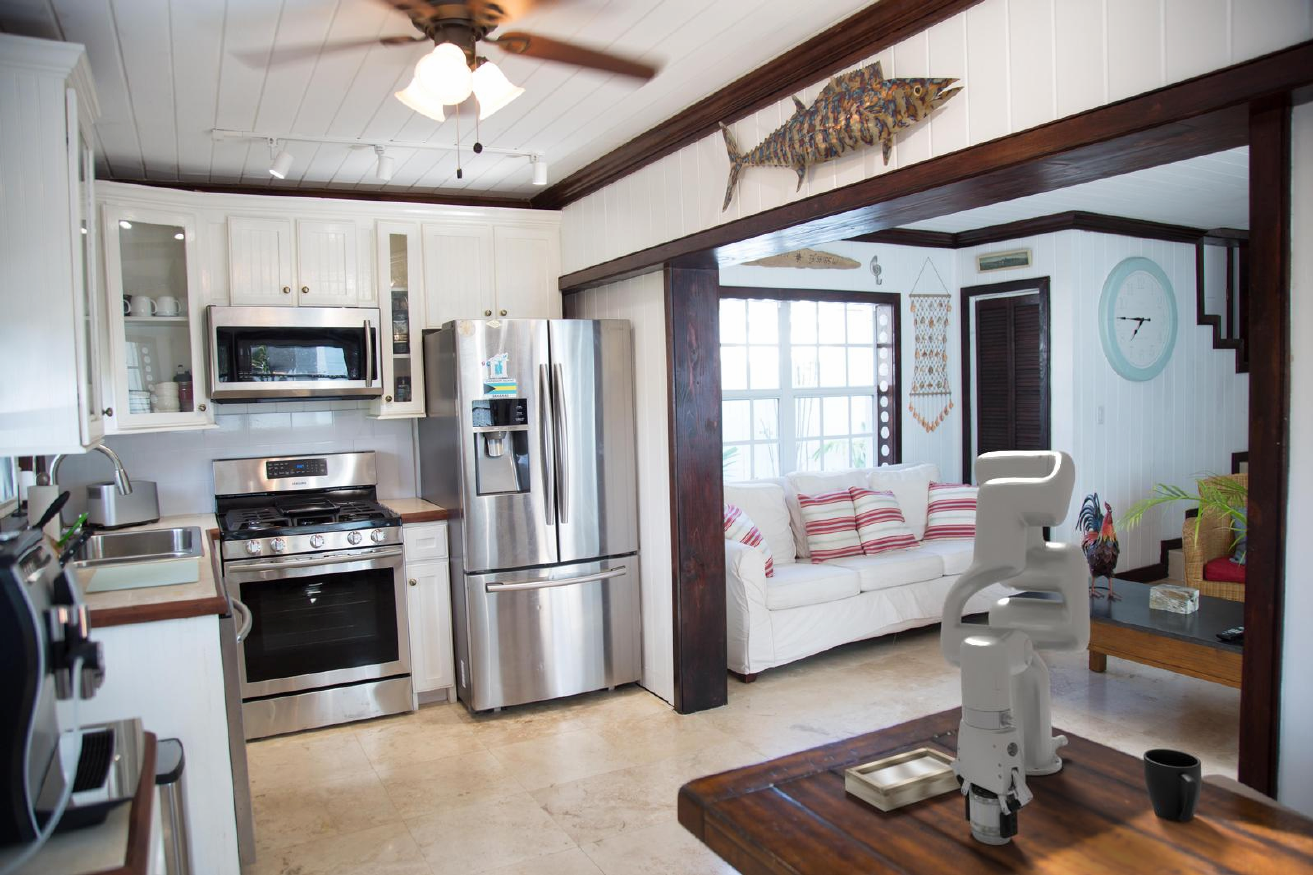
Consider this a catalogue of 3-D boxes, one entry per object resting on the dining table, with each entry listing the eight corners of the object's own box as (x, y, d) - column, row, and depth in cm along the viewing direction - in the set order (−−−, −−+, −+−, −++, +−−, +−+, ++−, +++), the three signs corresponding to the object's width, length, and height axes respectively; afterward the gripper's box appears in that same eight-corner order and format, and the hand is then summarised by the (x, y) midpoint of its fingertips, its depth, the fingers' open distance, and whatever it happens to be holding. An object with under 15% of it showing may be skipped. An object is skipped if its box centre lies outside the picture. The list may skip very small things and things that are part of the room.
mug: (1163, 836, 139) (1161, 776, 138) (1138, 803, 150) (1136, 747, 150) (1221, 839, 137) (1219, 778, 137) (1191, 805, 149) (1189, 749, 149)
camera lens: (1012, 848, 137) (1011, 798, 137) (969, 843, 139) (968, 793, 139) (1012, 830, 143) (1011, 782, 143) (971, 825, 145) (969, 777, 145)
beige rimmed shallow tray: (928, 765, 170) (927, 746, 170) (969, 784, 161) (969, 764, 161) (845, 790, 161) (844, 770, 161) (885, 811, 152) (884, 790, 151)
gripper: (1049, 726, 135) (1053, 843, 135) (962, 697, 150) (966, 802, 151) (1015, 737, 131) (1019, 856, 132) (929, 705, 147) (933, 812, 147)
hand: (991, 826), depth 141 cm, fingers closed on camera lens, 6 cm apart
